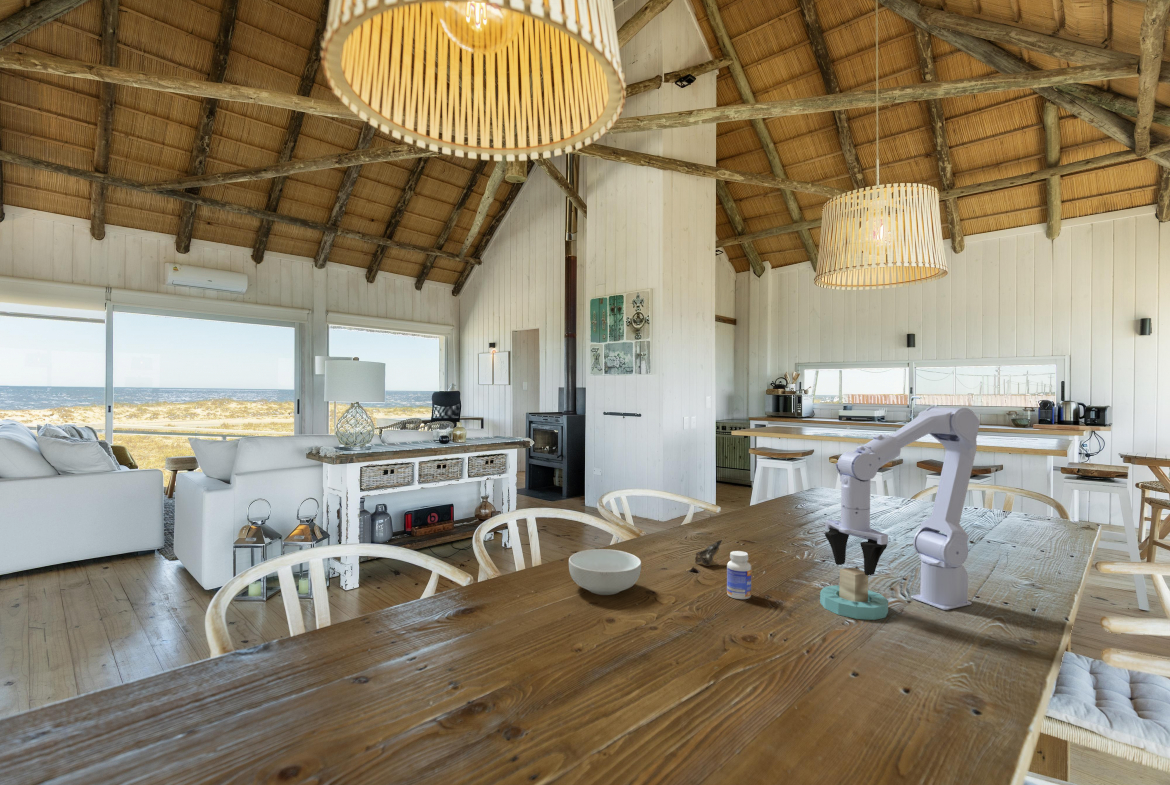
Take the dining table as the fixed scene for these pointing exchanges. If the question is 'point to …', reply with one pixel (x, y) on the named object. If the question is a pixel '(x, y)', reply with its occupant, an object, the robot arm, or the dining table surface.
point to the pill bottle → (739, 576)
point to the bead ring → (854, 604)
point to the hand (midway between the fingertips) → (854, 569)
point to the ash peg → (853, 585)
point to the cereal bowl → (604, 570)
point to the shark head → (708, 555)
